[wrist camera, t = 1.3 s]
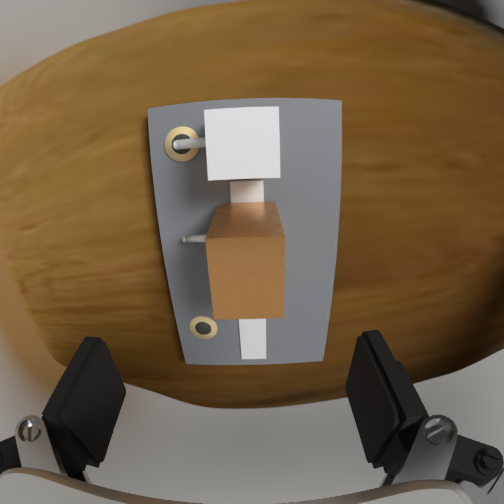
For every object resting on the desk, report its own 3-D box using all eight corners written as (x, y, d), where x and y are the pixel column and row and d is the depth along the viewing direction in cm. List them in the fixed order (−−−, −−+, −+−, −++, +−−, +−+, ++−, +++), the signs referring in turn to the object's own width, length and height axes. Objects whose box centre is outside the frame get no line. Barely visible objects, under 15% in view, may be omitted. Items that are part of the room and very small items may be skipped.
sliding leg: (275, 201, 21) (285, 236, 15) (275, 264, 23) (283, 317, 17) (179, 205, 21) (149, 241, 15) (187, 266, 23) (165, 319, 17)
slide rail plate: (335, 101, 20) (366, 94, 14) (320, 351, 30) (332, 397, 24) (153, 109, 20) (119, 105, 14) (188, 354, 30) (177, 400, 24)
